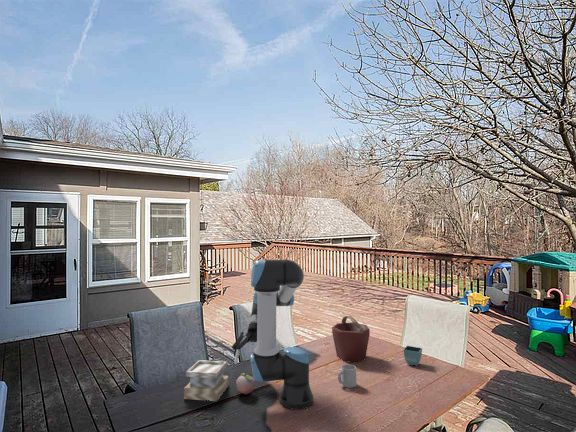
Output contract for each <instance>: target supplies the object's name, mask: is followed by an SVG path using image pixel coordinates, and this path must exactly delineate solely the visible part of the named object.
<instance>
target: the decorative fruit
mask: <svg viewBox="0 0 576 432" xmlns="http://www.w3.org/2000/svg"><path fill="white" fill-rule="evenodd" d="M235 385H236V389H237V391H238V392H240V393H241V394H244V395H246V396H247V395H248V394H250V393H252V391H254V389H255V388H256V387H255V386H256V381H255V380H254V379H253V376H250V375H248V374H247V373H246V372H245V373H244V372H243V373H240V376H238V378H237V379H236V382H235Z"/></svg>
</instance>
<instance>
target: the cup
mask: <svg viewBox="0 0 576 432" xmlns="http://www.w3.org/2000/svg"><path fill="white" fill-rule="evenodd" d="M337 381H338V383H339V384H340V385H342V386H343V387H344V388H347V389H353V387H354V388H356V386H357V367H356V366H355V365H354V364H349V363H347V364H343V365H341V370H339V371H338V373H337Z"/></svg>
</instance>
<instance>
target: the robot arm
mask: <svg viewBox="0 0 576 432" xmlns="http://www.w3.org/2000/svg"><path fill="white" fill-rule="evenodd" d="M304 275H305V273H304V271H303V268H302V267H301V266H300V265H299V264H298V263H297V262H295V261H293V260H291V259H260V260H255V261H254V262H253V265H252V269H251V276H250V286H251V287H252V288H253V291H254V293H253V301H252V307H251V313H250V317H249V324H248V327H247V332H246V333H245V332H243V331H241V332H240V335H239V337H238V338H237V339H236V341H235V342H234V343H233V344H232V346H231V349H232V351H233V356H234V360H233V362H234V364H235V365H237V364H238V360H239V355H240V350H241V349H242V348H243V347H244V346H245V345H247V344H248V343H249V342H250V343H256V347H254V349H253V353H251V354H250V356H249V357H250V365H251V371H252V377H253V379H254V380H255V382H264V383H265V382H270V381H271V382H272V381H282V380H283V385H282V388H281V392H280V394H279V395H280V396H279V404H280V405H281V406H283V407H284V408H287V409H289V410H302V409H307V408H309V407H311V406H312V405H313V403H314V396H313V392H312V389H311V385H310V357H309V353H308V351H307V350H306V349H304V348H302V347H298V346H297V347H296V346H285V347H284V348H283V350H282V351H280V348H279V347H278V346H277V307H290V306H293V305H294V302H295V297H294V294H295V292H296V290H297V288H299V287H300V286H301V285H302V284H303V281H304V277H305V276H304Z"/></svg>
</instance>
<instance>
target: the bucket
mask: <svg viewBox="0 0 576 432" xmlns="http://www.w3.org/2000/svg"><path fill="white" fill-rule="evenodd" d="M348 319H349V320H350V321H351V322H347V320H348ZM331 327H332V328H331V333H332V338H333V343H334V344H333V345H334V349H335V354H336V358H337V357H339V358H340V359H339V358H338V359H339V360H341V359H342V360H343V362H344V361H350V362H349V363H355V362H357V363H360V362H363V361H365V360H366V356H367V351H368V346H369V341H370V335H371V334H370V330H371V329H370V327H368V326H367V324H362V323H359V322H358V321H357V319H356V318H354V317H353V316H351V315H344V316H343V317H342V319H341V322H339V323H336V324H335V325H333V326H331ZM364 359H365V360H364ZM342 360H341V361H342ZM362 360H363V361H362ZM359 361H360V362H359Z"/></svg>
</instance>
